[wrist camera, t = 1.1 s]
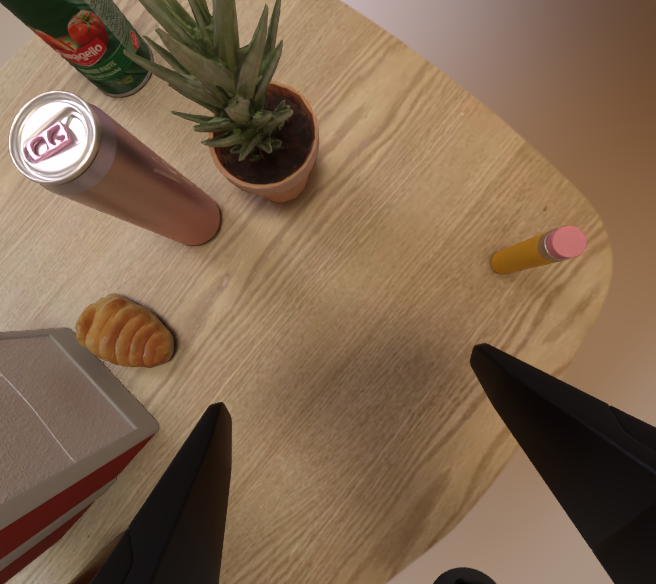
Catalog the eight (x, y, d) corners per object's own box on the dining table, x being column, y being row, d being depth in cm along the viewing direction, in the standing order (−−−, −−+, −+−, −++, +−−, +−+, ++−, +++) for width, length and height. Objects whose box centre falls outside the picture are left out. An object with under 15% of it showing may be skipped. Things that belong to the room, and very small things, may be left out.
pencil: (519, 257, 27) (594, 234, 19) (508, 278, 27) (578, 264, 19) (496, 246, 28) (561, 218, 19) (485, 267, 28) (545, 248, 19)
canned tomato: (134, 23, 33) (26, -120, 22) (165, 73, 32) (69, -50, 21) (81, 60, 33) (-52, -63, 22) (110, 110, 32) (-13, 8, 21)
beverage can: (163, 212, 31) (-11, 122, 16) (207, 185, 31) (72, 67, 16) (187, 257, 30) (29, 206, 15) (232, 229, 30) (116, 149, 15)
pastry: (189, 323, 30) (166, 325, 26) (165, 380, 30) (138, 391, 26) (117, 290, 31) (84, 288, 27) (93, 345, 31) (57, 351, 27)
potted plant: (343, 176, 29) (308, -485, 5) (279, 235, 30) (-66, -121, 5) (284, 114, 31) (11, -687, 6) (222, 171, 31) (-291, -378, 6)
